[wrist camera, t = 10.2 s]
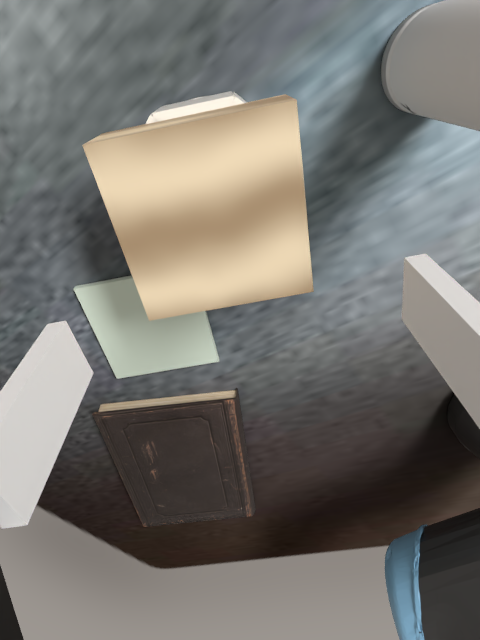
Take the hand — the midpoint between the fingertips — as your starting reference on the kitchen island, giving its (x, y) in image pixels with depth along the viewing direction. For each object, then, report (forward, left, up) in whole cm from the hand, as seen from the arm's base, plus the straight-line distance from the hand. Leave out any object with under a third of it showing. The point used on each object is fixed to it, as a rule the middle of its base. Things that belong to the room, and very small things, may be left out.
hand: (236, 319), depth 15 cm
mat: (-11, +10, -19) cm, 24 cm away
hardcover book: (-32, +12, -20) cm, 40 cm away
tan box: (+1, +1, -13) cm, 13 cm away
